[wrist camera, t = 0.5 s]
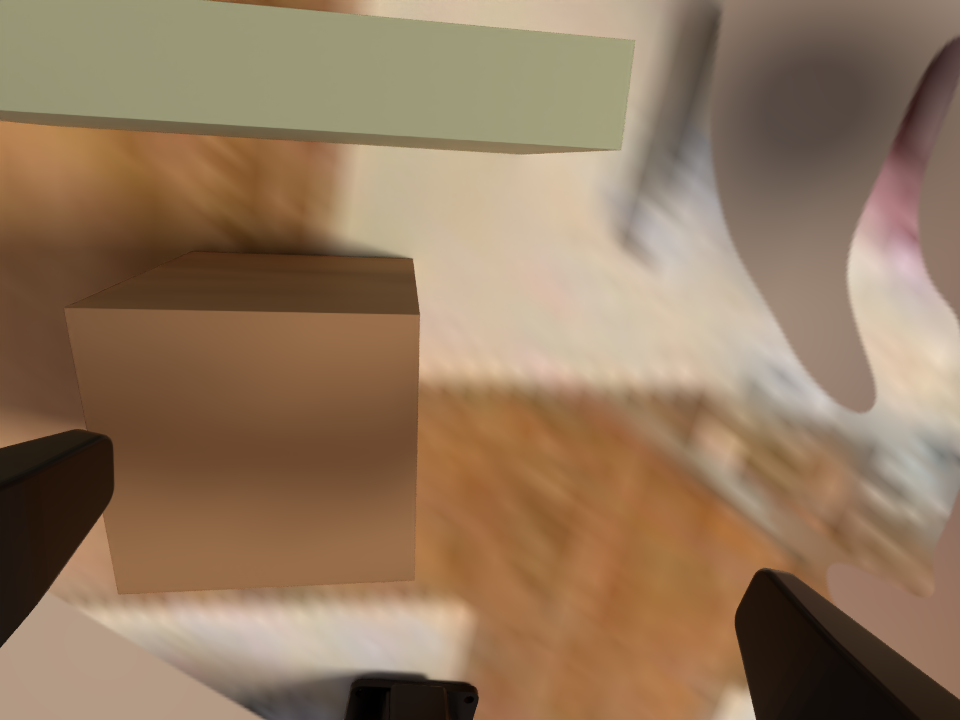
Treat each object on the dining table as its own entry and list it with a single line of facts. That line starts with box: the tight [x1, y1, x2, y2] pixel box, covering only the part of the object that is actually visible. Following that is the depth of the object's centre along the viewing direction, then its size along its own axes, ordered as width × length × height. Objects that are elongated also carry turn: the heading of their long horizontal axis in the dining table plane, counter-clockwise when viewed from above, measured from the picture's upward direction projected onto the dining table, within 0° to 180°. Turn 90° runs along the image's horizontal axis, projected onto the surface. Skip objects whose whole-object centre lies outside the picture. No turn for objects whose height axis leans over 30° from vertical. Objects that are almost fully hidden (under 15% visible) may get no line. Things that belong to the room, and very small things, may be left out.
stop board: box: [0, 0, 635, 154], centre depth 15 cm, size 2×16×10 cm, turn 87°
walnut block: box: [64, 251, 420, 594], centre depth 19 cm, size 8×8×8 cm
